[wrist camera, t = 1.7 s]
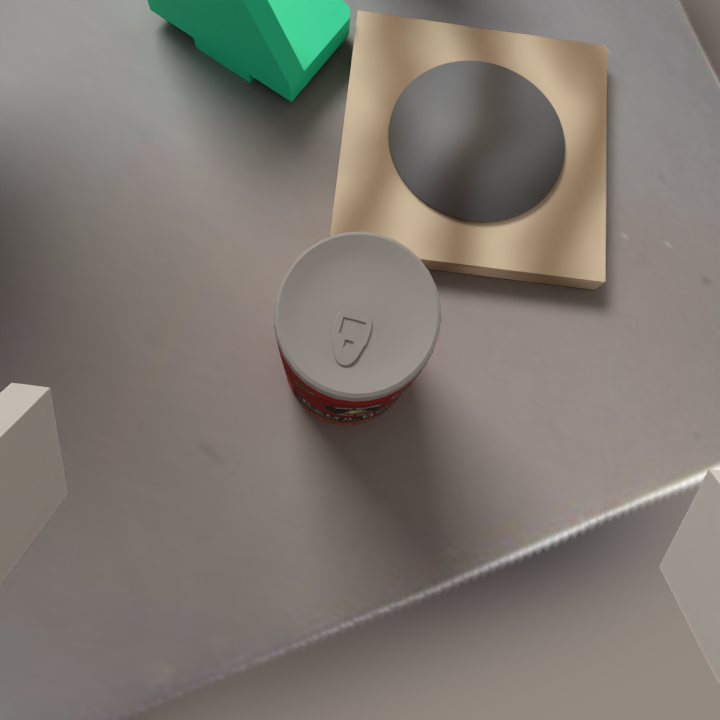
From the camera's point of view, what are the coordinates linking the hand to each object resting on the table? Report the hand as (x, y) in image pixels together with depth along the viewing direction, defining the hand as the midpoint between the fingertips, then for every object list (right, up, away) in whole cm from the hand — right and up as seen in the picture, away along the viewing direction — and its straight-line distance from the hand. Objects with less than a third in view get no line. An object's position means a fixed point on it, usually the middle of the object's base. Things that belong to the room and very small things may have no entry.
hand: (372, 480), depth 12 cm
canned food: (-1, +2, +25) cm, 25 cm away
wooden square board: (+8, +17, +29) cm, 34 cm away
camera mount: (-8, +26, +30) cm, 41 cm away
